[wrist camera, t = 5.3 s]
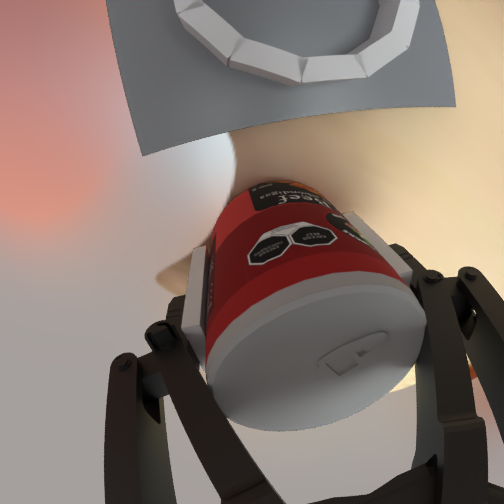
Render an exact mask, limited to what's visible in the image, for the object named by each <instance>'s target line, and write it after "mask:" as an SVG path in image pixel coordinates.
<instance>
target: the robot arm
mask: <svg viewBox="0 0 504 504" xmlns="http://www.w3.org/2000/svg"><path fill="white" fill-rule="evenodd" d="M342 215H343V216H344V217H345V218H346V219H347V220H348V221H349V222H350V223H351V224H352V225H353V226H354V227H355V228H356V229H357V230H358V231H359V232H360V233H361V234H362V235H363V236H364V237H365V238H366V239H367V240H368V241H369V242H370V243H371V245H372V246H373V247H374V248H375V249H376V250H377V251H378V252H379V253H380V254H381V255H382V256H383V257H384V258H385V260H386V261H387V262H388V263H389V264H390V265H391V266H392V267H393V268H394V269H395V271H396V272H397V273H398V275H399V276H400V277H401V278H402V280H403V281H404V282H405V283H406V284H407V285H408V287H409V288H410V289H411V291H412V292H413V294H414V295H415V297H416V298H417V300H418V302H419V304H420V305H421V307H422V309H423V310H424V312H425V316H426V321H427V325H426V330H425V334H424V339H423V342H422V346H421V349H420V353H419V355H418V358H417V360H416V362H415V374H416V394H417V395H416V396H417V436H416V452H415V456H414V459H413V463H412V468H411V470H409V471H407V472H405V473H402V474H400V475H398V476H396V477H395V478H393V479H392V480H390V481H389V482H387V483H386V484H384V485H383V486H381V487H380V488H378V489H377V490H375V491H373V492H372V493H370V494H367V495H359V496H349V497H335V498H330V499H326V500H322V501H318V502H313V503H309V504H504V488H503V487H500V486H497V485H494V484H491V483H489V482H488V453H487V438H486V426H485V421H484V420H483V418H482V417H478V416H477V414H476V409H475V402H474V395H473V388H472V382H471V376H470V370H469V365H468V360H467V356H468V358H469V360H470V362H471V364H472V366H473V368H474V370H475V372H476V374H477V377H478V379H479V381H480V383H481V386H482V388H483V390H484V392H485V395H486V397H487V400H488V402H489V405H490V407H491V409H492V412H493V415H494V418H495V420H496V423H497V426H498V429H499V432H500V434H501V438H502V440H503V443H504V301H503V299H502V298H501V297H500V295H499V294H498V293H497V291H496V290H495V289H494V288H493V286H492V285H491V284H490V283H489V281H488V280H487V279H486V278H485V276H484V275H483V274H482V273H481V272H480V271H479V270H478V269H476V268H474V267H463V268H461V269H460V270H459V271H458V276H457V277H448V278H444V276H443V275H442V274H441V273H439V272H438V271H435V270H426V269H425V268H424V267H423V266H422V265H421V264H420V263H419V262H418V261H417V260H416V259H415V258H413V256H412V255H411V254H410V253H409V252H408V251H407V250H406V249H405V248H404V247H402V246H400V245H398V244H391V245H388V244H387V243H386V242H385V241H384V240H383V239H382V238H381V237H379V236H378V235H377V234H376V233H375V232H374V231H373V230H372V229H371V228H370V227H369V226H368V225H367V224H366V223H365V222H364V221H363V220H362V219H361V218H359V217H358V216H357V215H356V214H355V213H354V212H348V213H344V214H342ZM209 264H210V256H209V253H208V250H207V247H206V246H202V247H197V248H194V249H193V253H192V259H191V265H190V271H189V277H188V284H187V290H186V295H182V296H178V297H174V298H173V299H172V301H171V302H170V303H169V305H168V310H167V315H166V320H161V321H158V322H155V323H154V324H152V325H151V326H150V327H149V328H148V329H147V330H146V332H145V340H146V341H147V343H148V344H149V346H150V348H151V349H152V352H150V353H148V354H146V355H144V356H141V357H139V358H137V357H136V356H135V355H134V354H133V353H123V354H121V355H119V356H117V357H116V358H115V359H114V360H113V362H112V364H111V367H110V374H109V383H108V394H107V405H106V421H105V442H104V486H105V504H177V503H176V496H175V491H174V485H173V478H172V472H171V465H170V458H169V450H168V442H167V433H166V423H165V413H164V400H163V397H164V396H166V395H170V397H171V399H172V402H173V404H174V406H175V409H176V411H177V413H178V416H179V418H180V420H181V422H182V424H183V427H184V429H185V431H186V433H187V435H188V437H189V439H190V441H191V444H192V445H193V447H194V450H195V452H196V454H197V456H198V458H199V460H200V461H201V463H202V465H203V467H204V469H205V471H206V473H207V475H208V476H209V478H210V480H211V482H212V484H213V485H214V487H215V489H216V491H217V492H218V494H219V496H220V498H221V504H286V503H285V502H284V501H283V499H282V498H281V497H280V496H279V494H278V493H277V492H276V490H275V489H274V488H273V486H272V485H271V484H270V482H269V481H268V479H267V478H266V477H265V475H264V474H263V473H262V471H261V470H260V468H259V467H258V466H257V464H256V463H255V461H254V460H253V458H252V457H251V455H250V454H249V452H248V451H247V449H246V448H245V446H244V445H243V443H242V442H241V440H240V439H239V437H238V436H237V434H236V433H235V431H234V430H233V428H232V426H231V425H230V423H229V421H228V420H227V418H226V417H225V415H224V413H223V412H222V410H221V409H220V407H219V406H218V404H217V402H216V401H215V399H214V397H213V396H212V394H211V392H210V391H209V389H208V387H207V384H206V383H205V381H204V379H203V377H202V375H201V374H200V372H199V365H201V367H202V369H203V371H204V370H205V360H206V350H205V339H206V316H207V297H208V280H209ZM473 310H475V312H476V314H475V313H474V311H473ZM466 354H467V356H466Z"/></svg>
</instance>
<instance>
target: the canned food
mask: <svg viewBox="0 0 504 504" xmlns="http://www.w3.org/2000/svg"><path fill="white" fill-rule="evenodd" d="M426 325H427V321H426V316H425V312H424V310H423V309H422V307H421V305H420V304H419V302H418V300H417V298H416V297H415V295H414V294H413V292H412V291H411V289H410V288H409V287H408V285H407V284H406V283H405V282H404V281H403V280H402V278H401V277H400V276H399V275H398V273H397V272H396V271H395V269H394V268H393V267H392V266H391V265H390V264H389V263H388V262H387V261H386V260H385V258H384V257H383V256H382V255H381V254H380V253H379V252H378V251H377V250H376V249H375V248H374V247H373V246H372V245H371V243H370V242H369V241H368V240H367V239H366V238H365V237H364V236H363V235H362V234H361V233H360V232H359V231H358V230H357V229H356V228H355V227H354V226H353V225H352V224H351V223H350V222H349V221H348V220H347V219H346V218H345V217H344V216H343V215H342V214H341V213H340V212H339V211H338V210H337V209H336V208H335V207H334V206H333V205H332V204H331V203H330V202H329V201H328V200H327V199H326V198H325V197H323V196H322V195H321V194H320V193H318V192H317V191H316V190H314V189H313V188H311V187H308V186H306V185H304V184H301V183H297V182H291V181H272V182H267V183H263V184H259V185H257V186H254V187H252V188H249V189H247V190H246V191H244V192H243V193H241V194H240V195H238V196H237V197H235V198H234V199H233V200H232V201H231V202H230V203H229V204H228V205H227V206H226V207H225V209H224V210H223V212H222V213H221V215H220V216H219V218H218V220H217V222H216V224H215V227H214V229H213V234H212V239H211V250H210V264H209V280H208V297H207V316H206V339H205V350H206V360H205V372H206V380H207V387H208V389H209V391H210V392H211V394H212V396H213V397H214V399H215V401H216V402H217V404H218V406H219V407H220V409H221V410H222V412H223V413H224V415H225V417H226V418H228V419H230V420H232V421H233V422H235V423H237V424H240V425H243V426H246V427H249V428H253V429H259V430H264V431H297V430H304V429H310V428H316V427H319V426H323V425H327V424H330V423H333V422H336V421H339V420H341V419H344V418H347V417H349V416H351V415H353V414H355V413H357V412H359V411H361V410H363V409H365V408H366V407H368V406H370V405H371V404H373V403H374V402H376V401H378V400H379V399H380V398H382V397H383V396H384V395H385V394H387V393H388V392H389V391H390V390H392V389H393V388H394V387H395V386H396V385H397V384H398V383H399V382H400V381H401V380H402V379H403V378H404V377H405V376H406V374H407V373H408V372H409V371H410V369H411V368H412V367H413V365H414V364H415V362H416V360H417V358H418V355H419V353H420V349H421V346H422V342H423V339H424V334H425V330H426Z"/></svg>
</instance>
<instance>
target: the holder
mask: <svg viewBox="0 0 504 504" xmlns="http://www.w3.org/2000/svg"><path fill="white" fill-rule="evenodd" d="M106 5H107V11H108V17H109V22H110V27H111V32H112V38H113V42H114V48H115V52H116V57H117V61H118V66H119V70H120V75H121V79H122V83H123V87H124V91H125V95H126V99H127V103H128V107H129V110H130V114H131V118H132V122H133V125H134V129H135V132H136V136H137V139H138V142H139V146H140V149H141V153H142V156H145V155H148V154H151V153H154V152H158V151H160V150H164V149H167V148H170V147H173V146H177V145H180V144H184V143H187V142H191V141H195V140H198V139H202V138H205V137H210V136H213V135H217V134H222V133H226V132H230V131H234V130H239V129H243V128H248V127H252V126H257V125H262V124H267V123H272V122H278V121H283V120H289V119H295V118H301V117H308V116H315V115H322V114H330V113H338V112H347V111H357V110H369V109H383V108H403V107H456V101H455V92H454V84H453V77H452V71H451V65H450V59H449V54H448V49H447V44H446V40H445V35H444V31H443V27H442V23H441V20H440V16H439V13H438V9H437V6H436V3H435V0H106Z"/></svg>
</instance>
